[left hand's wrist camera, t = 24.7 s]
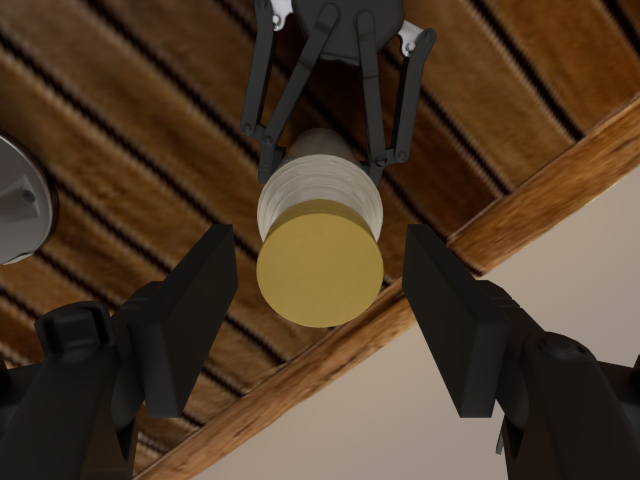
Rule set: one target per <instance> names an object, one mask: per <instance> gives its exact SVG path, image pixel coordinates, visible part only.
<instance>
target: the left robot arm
mask: <svg viewBox="0 0 640 480" xmlns="http://www.w3.org/2000/svg"><path fill="white" fill-rule="evenodd" d="M58 213H59V208H58V200H57V195H56V192H55V189H54V186H53V183H52V181H51V179H50V177H49V175H48V174H47V172H46V170H45V169H44V167H43V166H42V164H41V163H40V162H39V160H38V159H37V158H36V157H35V156H34V155H33V154H32V153H31V151H30V150H28V149H27V148H26V147H25V146H24V145H23V144H22V143H20V142H19V141H18V140H16V139H15V138H14V137H12V136H11V135H9V134H7V133H6V132H4V131H2V130H0V264H2V263H5V264H10V263H15V262H17V261H20V260H22V259H24V258H26V257H28V256H30V255H32V254H31V253H33V252H35V251H37V250H38V249H40V248H41V247H43V246H44V245H45V244H46V243H47V242H48V241H49V239H50V238H51V237H52V235H53V233H54V231H55V229H56V226H57V222H58ZM5 264H3V265H5ZM237 288H238V277H237V267H236V256H235V246H234V236H233V225H232V224H213V225H212V226H211V227H210V228H209V230H208V231H207V232H206V233H205V234H204V235H203V236H202V237H201V239H200V240H199V241H198V242H197V243H196V244H195V245H194V247H193V248H192V249H191V250H190V251H189V252H188V253H187V255H186V256H185V257H184V258H183V259H182V260H181V261H180V262H179V264H178V265H177V266H176V267H175V268H174V269H173V270H172V272H171V273H170V274H169V275H168V276H167V277H166V278H165V280H164V281H152V282H150V283H148V284H147V285H145V286H143V287H141V288H139V289H138V290H137V291H136V292H135V293H134V294H133V295H132V296H131V297H130V298H129V299H128V301H126V302H125V303H124V304H123V305H122V306H121V307H120V309H118V310H117V311H116V312H115V313H114V314H113V315H112V316H111V317H110V314H109V310H108V306H107V305H105V304H104V303H102V302H97V301H82V302H76V303H72V304H68V305H65V306H62V307H59V308H57V309H54V310H52V311H50V312H48V313H47V314H45V315H43V316H41V317H40V318H39V319H38V320H37V321H36V322H35V323H34V326H35V329H36V332H37V334H38V337H39V340H40V343H41V346H42V349H43V351H44V354H45V359H44V361H43V362H42V363H37V364H32V365H27V366H22V367H17V368H12V369H7V367H6V365H5V362H4V360H3V358H2V356H0V480H132V474H133V467H134V459H135V452H136V445H137V438H138V423H137V419H136V413H137V412H138V410H139V408H140V407H141V405H142V403H143V401H144V400H145V404H146V408H147V412H148V417H149V418H180V416H181V414H182V412H183V409H184V407H185V405H186V403H187V400H188V398H189V396H190V394H191V391H192V389H193V387H194V385H195V382H196V380H197V378H198V376H199V373H200V371H201V369H202V367H203V364H204V362H205V360H206V358H207V356H208V353H209V351H210V349H211V347H212V344H213V342H214V340H215V338H216V335H217V333H218V331H219V329H220V326H221V324H222V322H223V320H224V317H225V315H226V313H227V311H228V308H229V306H230V304H231V302H232V299H233V297H234V295H235V293H236V290H237ZM402 288H403V290H404V293H405V295H406V297H407V299H408V302H409V304H410V306H411V308H412V311H413V313H414V315H415V317H416V320H417V322H418V324H419V326H420V329H421V331H422V333H423V335H424V338H425V340H426V342H427V344H428V346H429V349H430V351H431V353H432V356H433V358H434V360H435V362H436V364H437V367H438V369H439V371H440V373H441V376H442V378H443V380H444V382H445V385H446V387H447V389H448V391H449V394H450V396H451V398H452V400H453V403H454V405H455V407H456V409H457V412H458V414H459V416H460V418H491V416H492V412H493V408H494V404H495V400H497V401H498V403H499V405H500V406H501V408H502V410H503V411H504V413H505V415H504V419H503V423H502V427H501V431H500V435H499V439H498V442H497V447H496V454H501V452H502V448H503V446H504V451H505V458H506V465H507V473H508V480H640V355H638V358H637V360H636V363H635V365H634V367H633V368H631V367H626V366H621V365H616V364H611V363H606V362H601V361H597V360H596V358H595V356H594V355H593V354H592V353H591V352H590V350H589V349H588V348H586V347H585V346H583V345H582V344H580V343H579V342H577V341H576V340H573V339H571V338H569V337H566V336H564V335H560V334H557V333H553V332H546V331H544V330H543V329H542V328H541V327H540V326H539V325H538V324H537V323H536V322H535V321H534V320H533V319H532V318H531V317H530V316H529V315H528V314H527V313H526V312H525V311H524V310H523V309H522V308H520V306H519V304H517V302H516V301H515V300H512V297H511V296H510V295H509V294H508V293H507V292H506V291H505V290H504V289H503V288H501V287H499V286H498V285H496V284H494V283H492V282H490V281H489V280H475V278H474V277H473V276H472V275H471V274H470V273H469V272H468V270H467V269H466V268H465V267H464V266H463V265H462V264H461V262H460V261H459V260H458V259H457V258H456V257H455V256H454V255H453V253H452V252H451V251H450V250H449V249H448V248H447V247H446V245H445V244H444V243H443V242H442V241H441V240H440V239H439V237H438V236H437V235H436V234H435V233H434V232H433V231H432V230H431V228H430V227H429V226H428V225H427V224H408V225H407V236H406V246H405V256H404V267H403V277H402Z"/></svg>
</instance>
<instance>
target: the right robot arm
mask: <svg viewBox="0 0 640 480" xmlns="http://www.w3.org/2000/svg"><path fill="white" fill-rule="evenodd" d="M254 6H255V14H256V22H257V30H258V32H257V37H256V43H255V48H254V53H253V58H252V64H251V69H250V74H249V80H248V85H247V90H246V96H245V101H244V106H243V112H242V117H241V122H240V130H241V132H242V133H243V134H244V135H248V136H250V137H251V138H253V139H255V140H256V141H258V143H259V144H260V147H261V152H260V161H259V171H258V180H259V183H260V184H266V183H267V181H268V180H269V178H270V177H271V175H272V174H273V172H274V171H275V169H276V168H277V166H278V165H279V163H280V162H281V160H282V159H283V157H284V156H285V152H286V147H280V146H278V141H279V139H280V137H281V135H282V133H283V131H284V129H285V127H286V125H287V123H288V121H289V119H290V117H291V115H292V113H293V111H294V109H295V107H296V105H297V103H298V101H299V99H300V97H301V95H302V93H303V91H304V89H305V87H306V85H307V83H308V81H309V79H310V77H311V75H312V73H313V71H314V70H315V68H316V66H317V64H318V62H319V61H320V62H325V63H336V62H339V63H341V64H343V65H345V66H347V67H351V68H356V69H357V72H358V79H359V83H360V91H361V100H362V108H363V116H364V125H365V133H366V141H367V150H368V157H369V158H368V162H365V161H360V160H359V162H360V163H361V165H362V166H363V168H364V169H365V171H366V172H367V174H368V175H369V177H370V178H371V180H372V181H373V183H374V184H375V186H376V188H377V190H378V188H379V184H380V180H381V176H382V171H383V169H384V167H385V166H386V165H388V164H392V163H397V162H400V163H403V162H406V161H407V160H408V158H409V155H410V148H411V142H412V136H413V130H414V123H415V117H416V111H417V104H418V98H419V92H420V86H421V79H422V73H423V67H424V63H425V61H426V59H427V57H428V55H429V53H430V51H431V49H432V47H433V45H434V43H435V40H436V32H435V31H434V30H433V29H432V28H426V29H425V30H422V29H420V28H419V27H417V26H415V25H413V24H411V23H409V22H407V21H406V20H404V19H405V16H404V11H403V5H402V0H255V1H254ZM292 15H294V16H295V18H296V21H297V23H298V25H299V27H300V30H301V32H302V34H303V36H304V39H305V41H306V45H305V47H304V49H303V51H302V53H301V55H300V57H299V60H298V62H297V65H296V67H295V69H294V71H293V73H292V75H291V77H290V79H289V81H288V83H287V85H286V87H285V90H284V92H283V94H282V96H281V98H280V100H279V102H278V104H277V106H276V108H275V110H274V112H273V114H272V116H271V118H270V121H269V123H268V125H267V127H266V126H264V125H262V124H261V123H260V122H261V118H262V113H263V108H264V103H265V98H266V94H267V89H268V84H269V79H270V74H271V69H272V65H273V60H274V55H275V50H276V44H277V33H280V32H282V31H283V30H284V29H285V27H286V21H287V19H288V18H289V17H290V16H292ZM395 36H397V37H398V38H399V40H400V49H399V52H400V54H401V56H402V57H404V60H403V63H402V67H401V72H400V79H399V87H398V94H397V101H396V108H395V115H394V123H393V130H392V137H391V144H390V147H386V148H385V139H384V129H383V120H382V110H381V100H380V90H379V80H378V76H379V70H378V60H377V54H378V53H379V52H380V51H381V50H382V49H383V48H384V47H385V46H386V45H387V44H388V43H389V42H390V41H391V40H392V39H393V38H394V37H395Z"/></svg>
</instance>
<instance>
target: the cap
mask: <svg viewBox="0 0 640 480" xmlns="http://www.w3.org/2000/svg"><path fill="white" fill-rule="evenodd" d="M256 274H257V281H258V284H259V288H260V290H261V292H262V295H263V296H264V298H265V299H266V301H267V302H268V304H269V305H270V306H271V307H272V308H273V309H274V310H275V311H276V312H277V313H279V314H280V315H281V316H283V317H284V318H286V319H288V320H290V321H292V322H294V323H297V324H300V325H304V326H309V327H331V326H336V325H340V324H343V323H346V322H348V321H350V320H352V319H354V318H356V317H357V316H359V315H360V314H362V313H363V312H364V311H365V310H366V309H367V308H368V307H369V306H370V305H371V304H372V302H373V301H374V299H375V298H376V296H377V295H378V292H379V290H380V288H381V285H382V281H383V275H384V266H383V259H382V256H381V252H380V250H379V247H378V245H377V242H376V240H375V237H374V235H373V233H372V230H371V228H370V227H369V225H368V223H367V222H366V221H365V219H364V218H363V217H362V216H361V215H360V214H359V213H358V212H356V211H355V210H354V209H352V208H351V207H349V206H347V205H345V204H342V203H340V202H337V201H332V200H325V199H314V200H308V201H304V202H300V203H298V204H295V205H293V206H291V207H290V208H288V209H286V210H285V211H284V212H283V213H281V214H280V215H279V216H278V217H277V218H276V219H275V221H274V222H273V223H272V225H271V226H270V228H269V230H268V233H267V235H266V237H265V240H264V242H263V245H262V247H261V250H260V253H259V256H258V260H257V268H256Z"/></svg>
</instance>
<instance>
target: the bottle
mask: <svg viewBox="0 0 640 480" xmlns="http://www.w3.org/2000/svg"><path fill="white" fill-rule="evenodd" d="M314 199H325V200H332V201H337V202H340V203H342V204H345V205H347V206H349V207H351V208H352V209H354V210H355V211H356V212H358V213H359V214H360V215H361V216H362V217H363V218H364V219H365V221H366V222H367V223H368V225H369V227H370V228H371V230H372V233H373V235H374V237H375V240H376V242H377V241H378V238H379V235H380V231H381V227H382V221H383V207H382V202H381V198H380V195H379V192H378V190H377V188H376V186H375V184H374V183H373V181H372V180H371V178H370V177H369V175H368V174H367V172H366V171H365V169H364V168H363V166H362V165H361V163H360V162H359V160H358V159H357V157H356V156H355V154H354V153H353V151H352V150H351V148H350V147H349V145H348V144H347V142H346V141H345V140H344V139H343V137H342V136H340V135H339V134H338V133H336V132H335V131H333V130H330V129H326V128H314V129H310V130H307V131H305V132H304V133H302V134H301V135H300V136H298V137H297V138H296V140H295V141H294V142H293V144H292V145H291V147H290V148H289V150H288V151H287V153H286V154H285V156H284V157H283V159H282V160H281V162H280V163H279V165H278V166H277V168H276V169H275V171H274V172H273V174H272V175H271V177H270V178H269V180H268V181H267V183H266V185H265V186H264V188H263V190H262V193H261V195H260V198H259V202H258V208H257V222H258V227H259V231H260V235H261V238H262V241H263V242H264V240H265V237H266V235H267V233H268V230H269V228H270V226H271V225H272V223H273V222H274V221H275V219H276V218H277V217H278V216H279V215H280V214H281V213H283V212H284V211H285V210H286V209H288V208H290V207H291V206H293V205H295V204H298V203H300V202H304V201H308V200H314Z"/></svg>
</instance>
